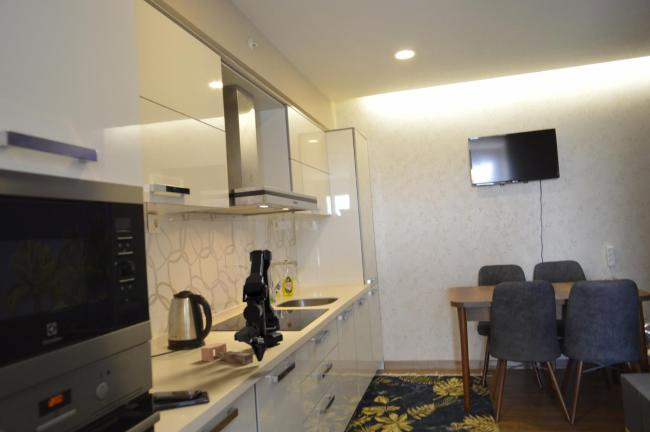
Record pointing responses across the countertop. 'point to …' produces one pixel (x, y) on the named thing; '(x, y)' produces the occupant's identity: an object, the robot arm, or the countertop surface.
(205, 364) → the countertop surface
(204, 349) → the pink bridge block
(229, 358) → the tan long bar
